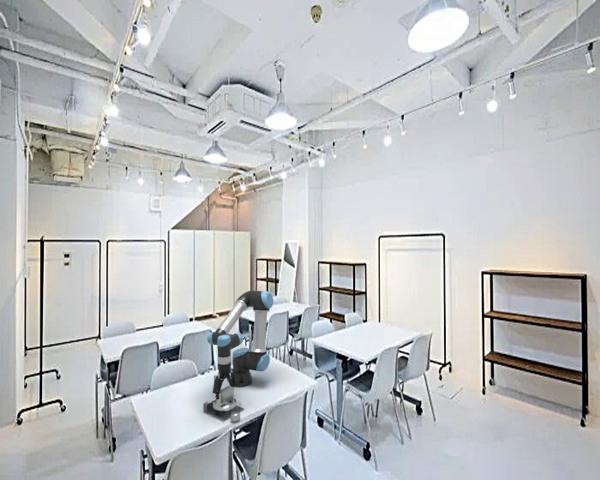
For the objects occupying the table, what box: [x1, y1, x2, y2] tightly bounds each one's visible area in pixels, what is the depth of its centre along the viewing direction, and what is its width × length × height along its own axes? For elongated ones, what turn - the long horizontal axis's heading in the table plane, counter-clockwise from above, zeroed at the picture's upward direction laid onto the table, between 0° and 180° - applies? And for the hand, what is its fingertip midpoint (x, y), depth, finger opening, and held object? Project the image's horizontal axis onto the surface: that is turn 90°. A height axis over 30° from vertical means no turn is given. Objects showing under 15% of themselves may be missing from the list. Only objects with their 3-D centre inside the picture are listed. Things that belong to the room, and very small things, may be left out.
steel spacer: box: [230, 411, 241, 424], centre depth 183 cm, size 5×5×4 cm
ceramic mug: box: [220, 385, 235, 405], centre depth 191 cm, size 11×8×8 cm
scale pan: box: [213, 398, 238, 411], centre depth 192 cm, size 14×14×3 cm
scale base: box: [202, 396, 245, 422], centre depth 193 cm, size 15×18×5 cm
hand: (225, 400), depth 192 cm, fingers closed on ceramic mug, 9 cm apart
